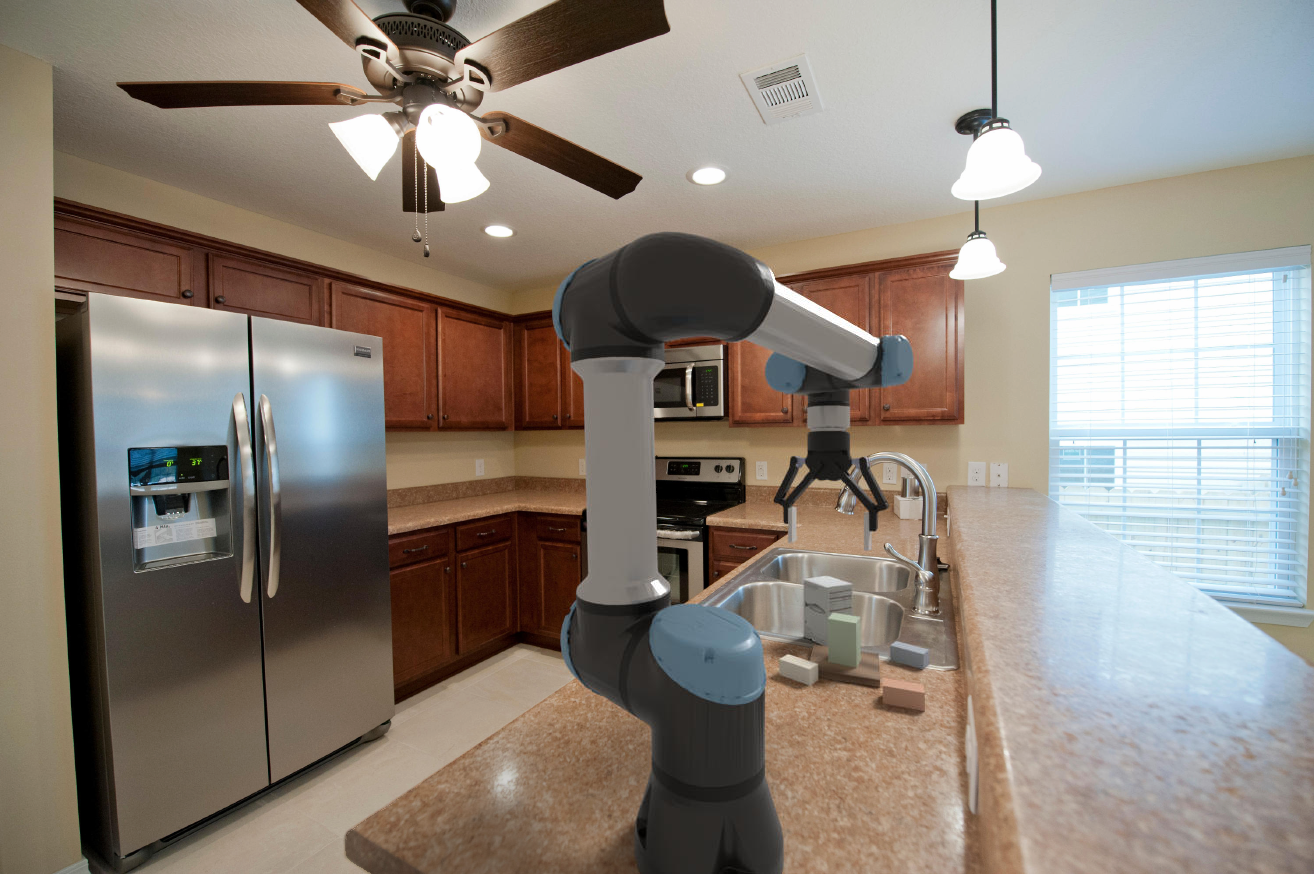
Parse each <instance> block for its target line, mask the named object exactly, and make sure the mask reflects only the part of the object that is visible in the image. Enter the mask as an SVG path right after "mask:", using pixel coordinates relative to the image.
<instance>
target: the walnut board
mask: <svg viewBox="0 0 1314 874" xmlns="http://www.w3.org/2000/svg"><path fill="white" fill-rule="evenodd" d="M811 650H812V651H811V653H810V654H811V655H810V659H809V661H810V662H814V663H817V664H818V678H822V679H829V680H835V681H840V682H846V683H852V684H853V683H854V684H859V685H865V686H872V687H876V688H877V687H878V688H881V674H880V673H881V671H880V670H881V669H880V656H879V655H880V654H879V653H878V652H870V651H862V650H861V661H860V663H859V664H858V666H857V668H855V667H850V666H845V665H841V664H836V663H831V662H828V646H822V645H821V644H813V647H812V649H811Z"/></svg>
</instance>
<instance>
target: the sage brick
mask: <svg viewBox="0 0 1314 874" xmlns="http://www.w3.org/2000/svg"><path fill="white" fill-rule="evenodd" d="M861 630H862V629H861V616H858V615H857V616H856V615H853V616H851V615H845V614H839V613H832V614H831V615H830V617H829V618H828V662H831V663H836V664H841V665H845V666H850V667H855V668H857V666H858V664H859V663H860V661H861V651H862V650H861V649H862V645H861V644H862V641H861V639H862V637H861V636H862V635H861V634H862V633H861Z"/></svg>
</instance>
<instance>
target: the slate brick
mask: <svg viewBox="0 0 1314 874" xmlns="http://www.w3.org/2000/svg"><path fill="white" fill-rule="evenodd" d="M889 648H890V649H889V650H890V651H889V653H890V656H889V658H890V661H892V660H893V662H895V663H896V662H897V663H901V664H904V665H906V666H911V667H914V668H917V669H920V670H926V668H927V667H929V665H930V649H928V648H924V647H921V646H918V645H917V646H916V645H913V644H910V643H905V642H901V641H898V640H896V641H894V642H893V643H891V644H890V647H889Z"/></svg>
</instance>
